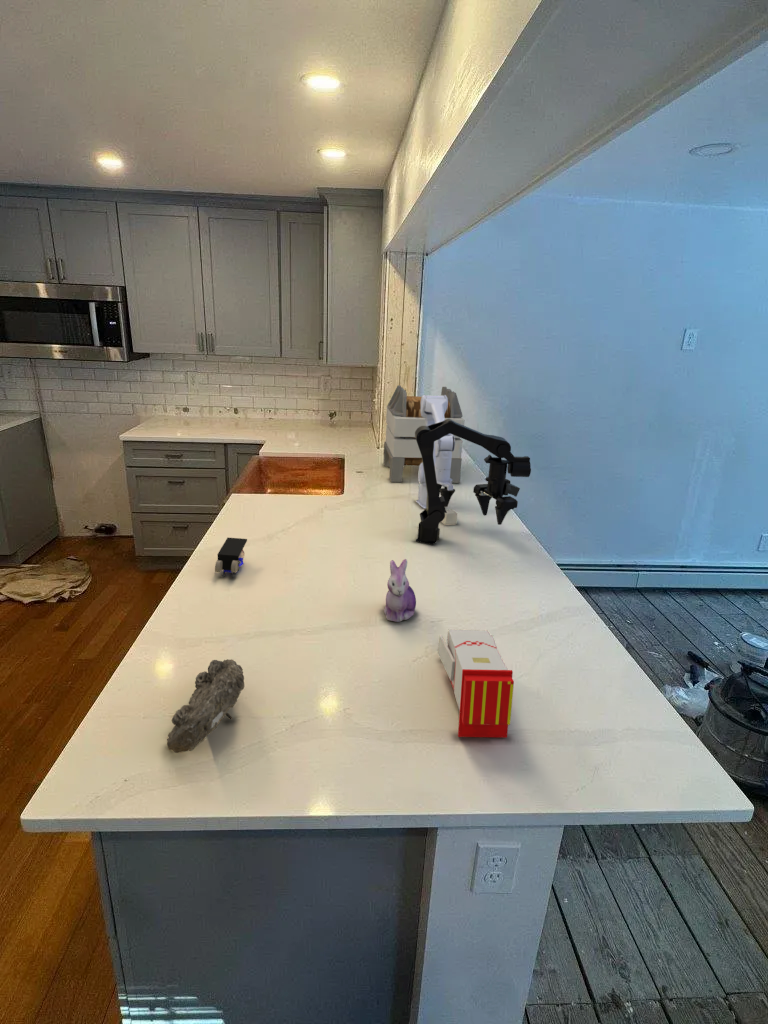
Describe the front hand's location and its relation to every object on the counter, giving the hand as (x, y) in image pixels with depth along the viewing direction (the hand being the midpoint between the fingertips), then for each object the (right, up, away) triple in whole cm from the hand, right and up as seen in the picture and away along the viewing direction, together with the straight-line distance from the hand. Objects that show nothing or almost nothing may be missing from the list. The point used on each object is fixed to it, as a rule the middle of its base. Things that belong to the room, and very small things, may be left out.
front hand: (492, 519), depth 193 cm
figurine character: (-82, -14, -26) cm, 87 cm away
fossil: (-70, -36, -85) cm, 116 cm away
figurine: (-33, -24, -46) cm, 61 cm away
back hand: (-16, +6, +18) cm, 25 cm away
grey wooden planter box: (-20, +21, +82) cm, 87 cm away
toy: (-19, -35, -75) cm, 85 cm away
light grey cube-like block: (-13, -1, +19) cm, 23 cm away
